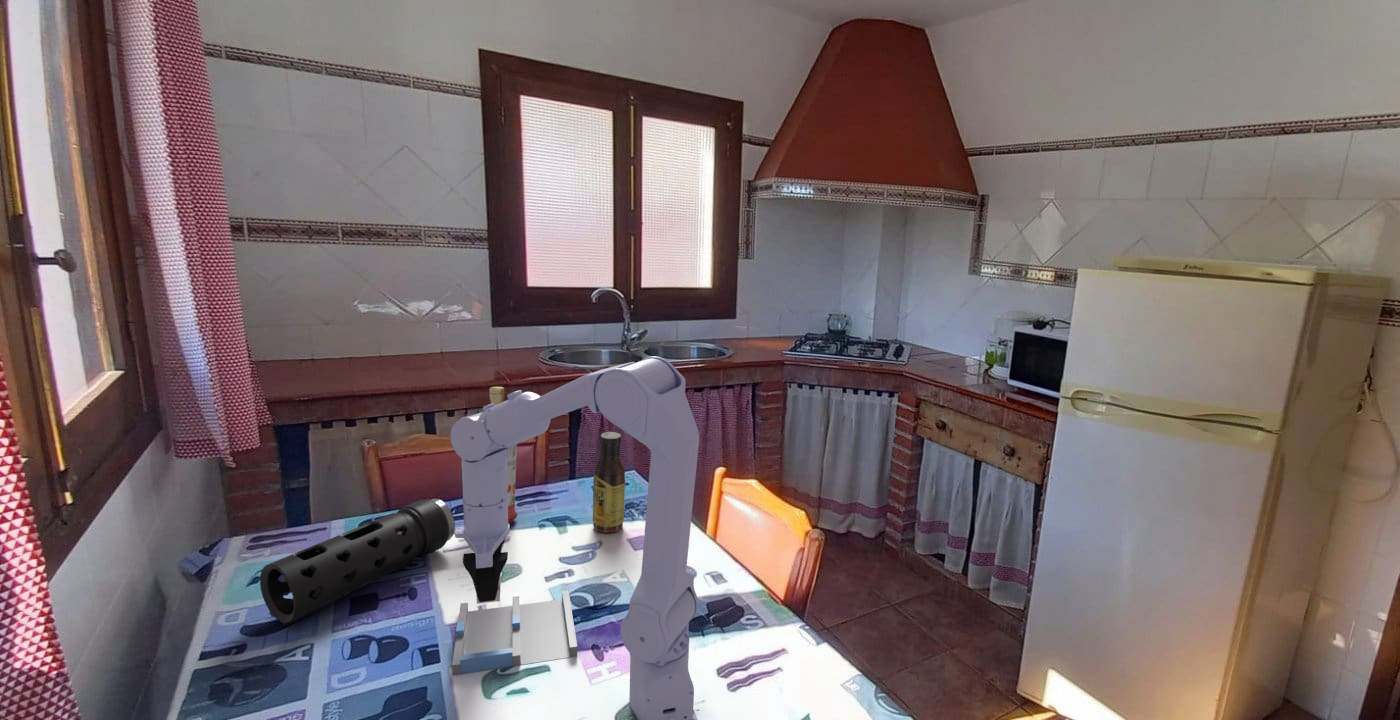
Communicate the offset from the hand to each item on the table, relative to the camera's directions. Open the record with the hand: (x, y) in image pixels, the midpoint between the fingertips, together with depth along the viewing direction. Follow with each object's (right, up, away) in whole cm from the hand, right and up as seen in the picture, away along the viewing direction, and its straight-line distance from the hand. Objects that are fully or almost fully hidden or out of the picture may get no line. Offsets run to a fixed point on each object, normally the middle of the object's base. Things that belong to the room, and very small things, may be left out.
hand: (488, 588), depth 86 cm
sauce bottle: (+11, -2, +37) cm, 39 cm away
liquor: (-11, -1, +38) cm, 40 cm away
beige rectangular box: (0, -1, 0) cm, 1 cm away
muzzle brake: (-25, -5, +15) cm, 30 cm away
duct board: (+3, -8, +3) cm, 9 cm away
